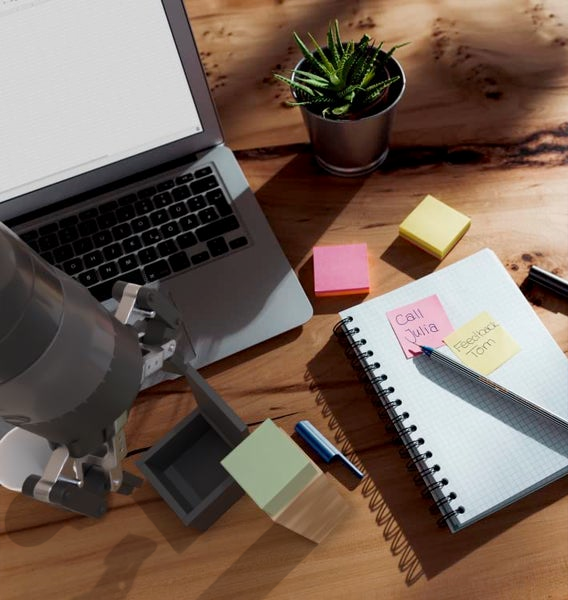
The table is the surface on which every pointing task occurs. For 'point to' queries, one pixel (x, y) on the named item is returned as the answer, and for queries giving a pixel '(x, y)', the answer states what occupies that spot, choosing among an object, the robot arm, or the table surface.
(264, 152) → the table surface
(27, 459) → the mug
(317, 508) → the stand
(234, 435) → the open box flap
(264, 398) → the table surface
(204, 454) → the grey lidded box
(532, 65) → the table surface
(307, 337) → the table surface
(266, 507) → the block
